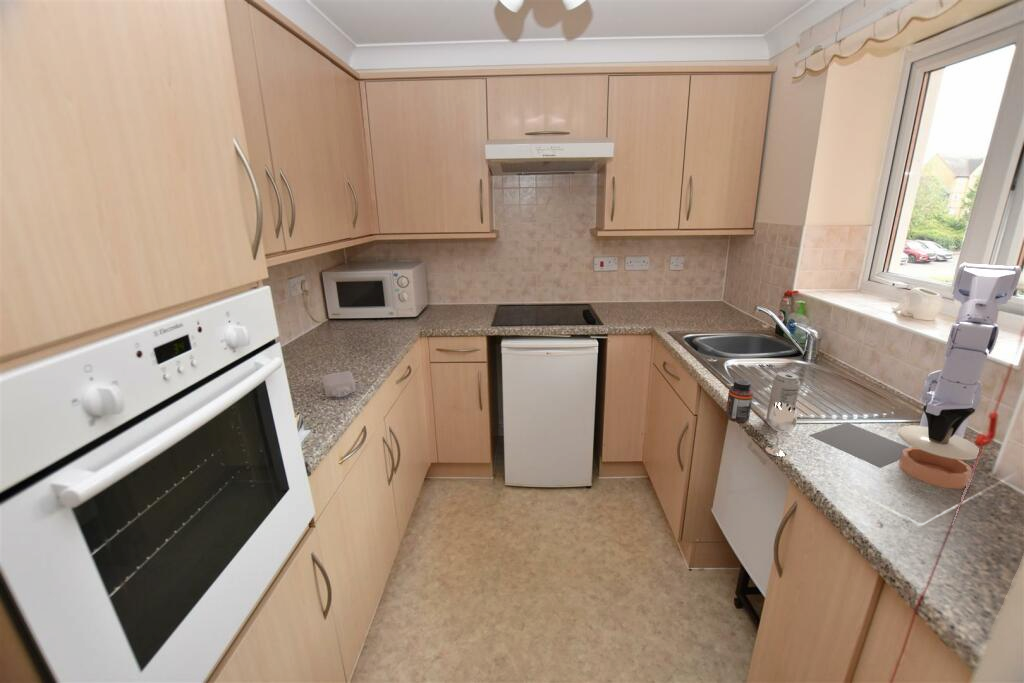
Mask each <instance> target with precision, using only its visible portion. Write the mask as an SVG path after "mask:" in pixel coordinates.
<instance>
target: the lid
mask: <svg viewBox="0 0 1024 683" xmlns="http://www.w3.org/2000/svg"><path fill="white" fill-rule="evenodd" d="M952 431H953V427H951V428H950V429H949V431H948V433H947V435H946V437H945V438H944V440H943V441H942V442H938V441H936V440H933V439H930V438H929V436H928V427H924V426H920V425H904V426H900V428H899V429H898V436H899V437H900V438H901V440H903V441H904V442H905V443H907V444H908V445H909V446H911V447H916V448H918V449H920V450H923V451H925V452H928V453H931V454H934V455H938V456H942V457H946V458H951V459H958V460H961V461H972V460H976V458H977V455H978V453H979V449H980V448H979V447H978V446H977V445H976V444H974V443H973V442H972V441H970V440H968V439H966V438H964V437H963V438H962V437H960V436H957V435H955V434H954V435H953V436H952V437H951V434H952ZM950 437H951V438H950ZM977 459H978V458H977Z"/></svg>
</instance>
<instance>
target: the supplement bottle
mask: <svg viewBox="0 0 1024 683" xmlns="http://www.w3.org/2000/svg"><path fill="white" fill-rule="evenodd" d="M751 385H752V384H751V381H749V380H746V379H743V378H737V379H734V381H733V385H732V386H730V387H729V389H728V394H727V402H726V406H725V407H726V408H725V418H726V419H727V420H728V421H731V422H734V423H735V422H738V423H747V422H748V421H749V420H750V414H751V408H752V402H753V397H754V393H753V392H754V391H753V390H752V389H751Z"/></svg>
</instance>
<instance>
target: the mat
mask: <svg viewBox="0 0 1024 683" xmlns="http://www.w3.org/2000/svg"><path fill="white" fill-rule="evenodd" d="M808 435H809V436H810V437H812V438H813V439H816V440H819V441H821V442H823V443H825V444H827V445H829V446H832V447H834V448H836V449H838V450H840V451H843V452H845V453H846V454H849V455H852V456H854V457H855V458H857V459H860V460H862V461H865V462H867V463H868V464H871V465H874V466H876V467H877V468H880V469H881V468H883V467H886V466H888V465H890V464H893V463H895V462H897V461H900V457H901V454H902V450H904V449H907V448H909V446H908V445H905V444H902V443H900V442H897V441H894V440H892V439H889V438H887V437H885V436H882V435H880V434H878V433H874V432H872V431H870V430H866V429H864V428H862V427H859V426H857V425H854V424H853V423H850V422H844V423H841V424H838V425H836V426H832V427H829V428H826V429H824V430H820V431H817V432H815V433H811V434H808Z"/></svg>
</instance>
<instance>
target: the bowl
mask: <svg viewBox="0 0 1024 683" xmlns="http://www.w3.org/2000/svg"><path fill="white" fill-rule="evenodd" d="M908 447H909V446H908ZM898 462H899V467H900V469H901V470H902V471H904V472H905V473H907V474H908V475H909V476H910V477H912V478H914V479H917V480H920V481H922V482H924V483H926V484H929V485H933V486H937V487H940V488H945V489H958V490H959V489H964V488H965V486H966V484H967V482H968V479H969V476H970V474H971V471H973V469H972V468H971V465H969V464H968V463H966V462H965V461H964V460H958V459H951V458H946V457H942V456H938V455H934V454H931V453H928V452H925V451H923V450H920V449H918V448H916V447H914V446H911V447H909V448H907V449H904V450H902V454H901V457H900V460H898ZM966 487H967V486H966Z"/></svg>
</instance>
